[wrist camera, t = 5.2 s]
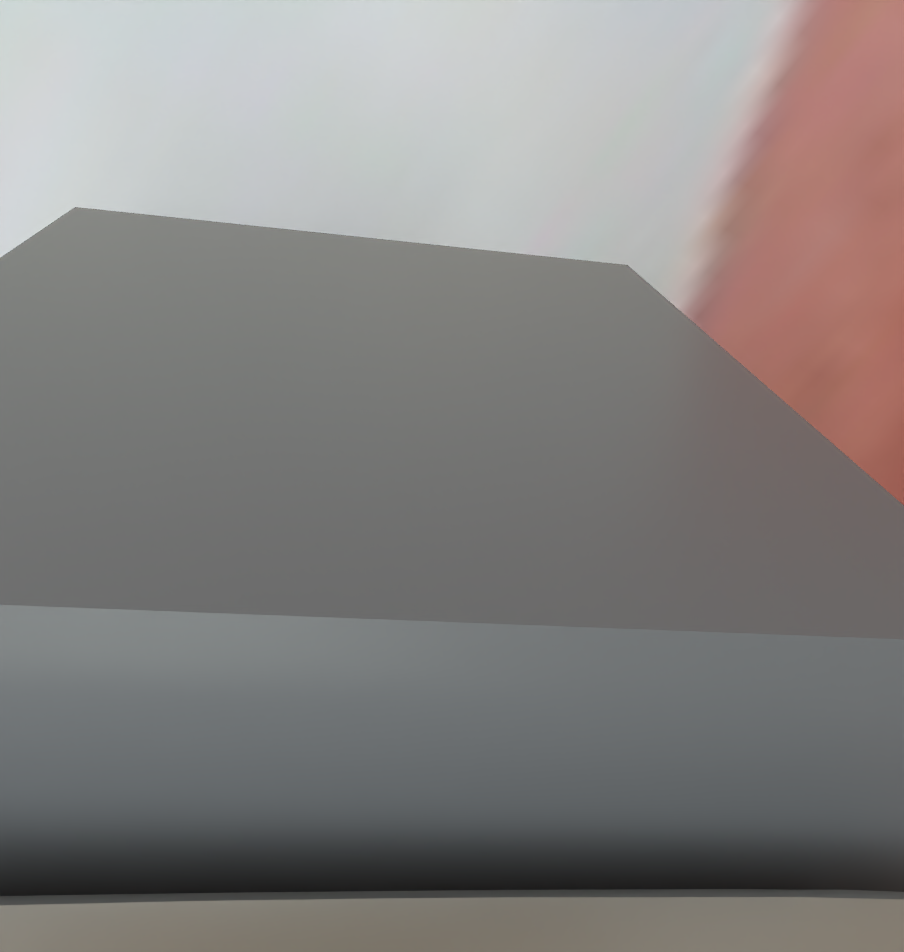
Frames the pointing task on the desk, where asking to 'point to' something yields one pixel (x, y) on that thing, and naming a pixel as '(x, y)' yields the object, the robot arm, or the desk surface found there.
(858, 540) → the matte gray cube
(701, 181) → the desk surface
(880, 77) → the desk surface
